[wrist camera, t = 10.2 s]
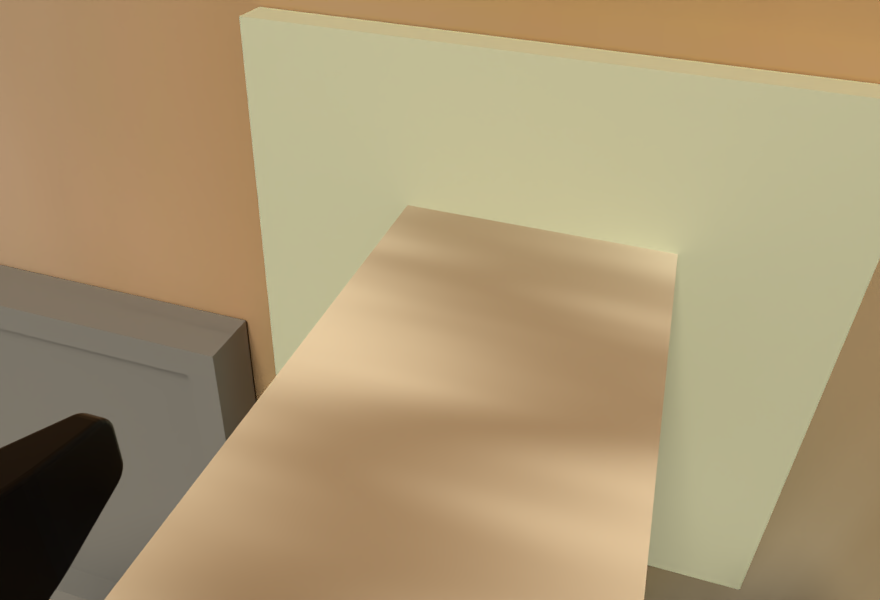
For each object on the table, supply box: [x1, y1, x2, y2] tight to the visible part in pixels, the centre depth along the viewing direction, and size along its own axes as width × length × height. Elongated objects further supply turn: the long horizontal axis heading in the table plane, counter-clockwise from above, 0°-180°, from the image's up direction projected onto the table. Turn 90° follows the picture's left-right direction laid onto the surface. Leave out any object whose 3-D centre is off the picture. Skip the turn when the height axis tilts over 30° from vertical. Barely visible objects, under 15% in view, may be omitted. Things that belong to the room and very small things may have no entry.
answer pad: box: [239, 7, 880, 590], centre depth 13 cm, size 9×9×1 cm
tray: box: [0, 265, 256, 600], centre depth 18 cm, size 10×10×1 cm
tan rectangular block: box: [104, 205, 678, 600], centre depth 9 cm, size 4×4×8 cm
